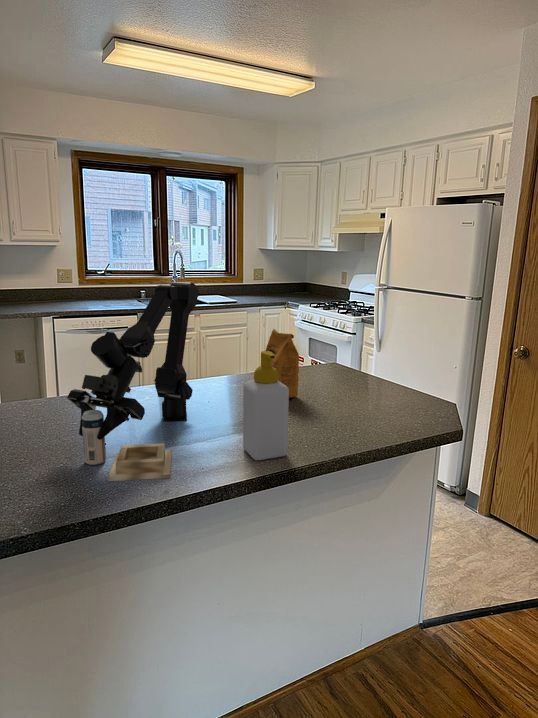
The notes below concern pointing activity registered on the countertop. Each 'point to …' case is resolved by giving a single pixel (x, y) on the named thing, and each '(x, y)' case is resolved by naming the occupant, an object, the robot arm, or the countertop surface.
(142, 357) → the robot arm
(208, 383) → the countertop surface
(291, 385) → the coffee package
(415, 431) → the countertop surface
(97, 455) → the beer can
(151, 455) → the socket board
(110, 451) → the countertop surface
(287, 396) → the soap bottle
